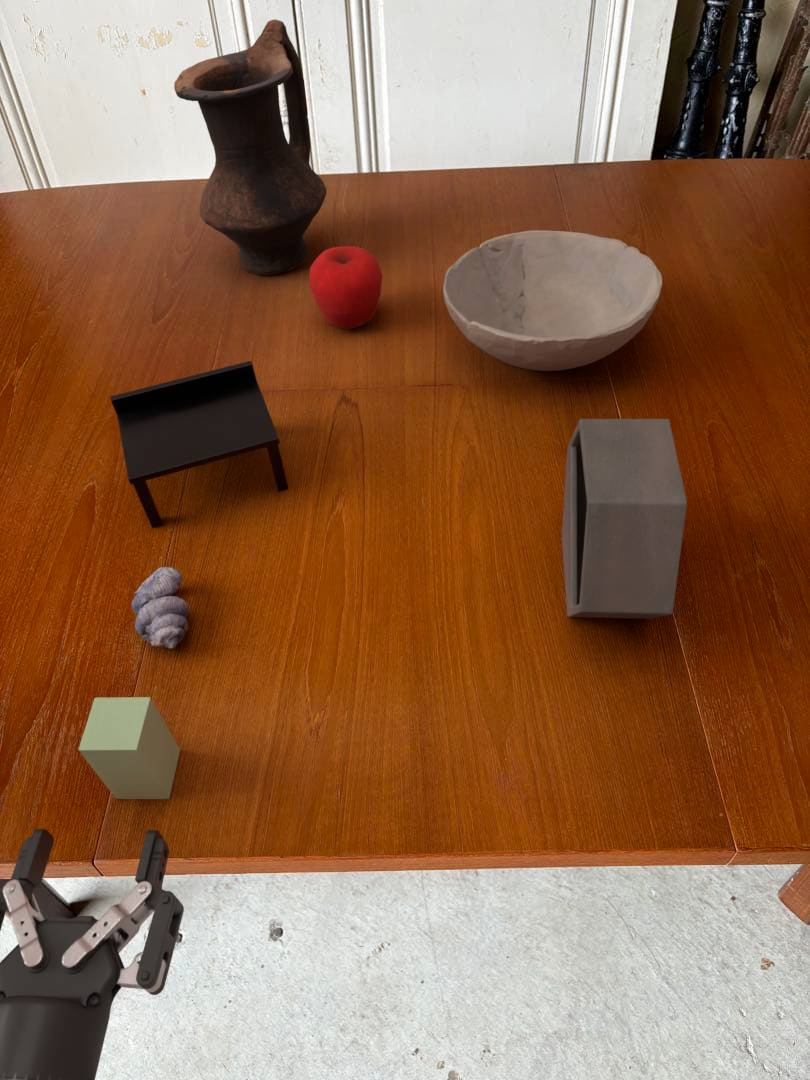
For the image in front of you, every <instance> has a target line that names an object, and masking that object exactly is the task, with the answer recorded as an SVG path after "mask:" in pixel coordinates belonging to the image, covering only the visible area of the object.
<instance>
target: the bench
mask: <svg viewBox="0 0 810 1080" xmlns="http://www.w3.org/2000/svg"><path fill="white" fill-rule="evenodd" d="M109 399H110V402H111V404H112V407H113V409H114V411H115V414H116V419H117V425H118V430H119V434H120V439H121V447H122V452H123V457H124V464H125V469H126V475H127V481H128V482H129V485H131V486H132V485H133V488H134V490H135V493H136V495H137V497H138V499H139V502H140V504H141V506H142V508H143V511H144V513H145V515H146V518H147V520H148V522H149V524H150V527H151V528H152V529H154V528H158V527H160V526H163V524H164V523H163V520H162V519H163V518H162V516H161V514H160V511H159V509H158V507H157V504H156V502H155V499H154V497H153V494H152V492H151V490H150V487H149V485H148V482H147V481H150V480H154V479H157V478H161V477H164V476H168V475H172V474H175V473H179V472H183V471H186V470H189V469H194V468H196V467H200V466H205V465H207V464H211V463H215V462H218V461H222V460H225V459H229V458H233V457H237V456H240V455H245V454H248V453H251V452H255V451H258V450H259V451H260V450H262V449H266V450H267V451H266V452H267V454H268V455H267V456H268V458H269V459H268V460H269V464H270V466H271V471H272V474H273V478H274V482H275V486H276V488H277V491H278V492H284V491H286V490H289V484H288V480H287V476H286V472H285V467H284V464H283V459H282V455H281V451H280V446H279V445H280V444H281V442H280V438H279V435H278V432H277V430H276V427H275V425H274V422H273V420H272V417H271V414H270V411H269V409H268V406H267V404H266V401H265V398H264V395H263V394H262V391H261V388H260V385H259V383H258V380H257V378H256V372H255V369H254V365H253V362H252V360H248V361H244V362H240V363H236V364H232V365H228V366H224V367H220V368H216V369H212V370H208V371H205V372H200V373H197V374H193V375H188V376H185V377H180V378H177V379H173V380H170V381H165V382H162V383H158V384H153V385H150V386H146V387H141V388H138V389H134V390H131V391H125V392H123V393H118V394H113V395H111V396H110V397H109Z"/></svg>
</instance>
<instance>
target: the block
mask: <svg viewBox="0 0 810 1080" xmlns="http://www.w3.org/2000/svg"><path fill="white" fill-rule="evenodd" d="M91 705H92V706H91V708H90V711H89V715H88V718H87V721H86V724H85V727H84V730H83V733H82V736H81V739H80V743H79V747H78V752H79V753H80V754H81V755H82V757H83V758H84V760H85V761H86V762H87V764H88V765H89V766H90V767H91V768H92V770H93V771H94V772H95V774H96V775H97V776H98V777H99V779H100V780H101V781H102V782H103V784H104V785H105V786H106V788H107V789H108V790H109V792H110V793H111V794H112V796H113V797H114V798H115V799H116V800H169V799H170V798H171V792H172V790H173V789H172V788H173V786H174V785H173V784H174V780H175V775H176V771H177V767H178V762H179V758H180V753H181V748H180V746H179V744H178V742H177V741H176V739H175V738H174V735H173V734H172V732H171V731H170V729H169V726H168V725H167V724H166V722H165V720H164V718H163V716H162V715H161V713H160V711H159V710H158V708H157V706H156V704H155V703H154V701H153V699H152V697H149V696H141V697H139V696H137V697H136V696H134V697H128V696H127V697H124V696H123V697H120V696H119V697H94V699H93V702H92V704H91Z"/></svg>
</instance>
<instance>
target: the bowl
mask: <svg viewBox="0 0 810 1080" xmlns="http://www.w3.org/2000/svg"><path fill="white" fill-rule="evenodd" d="M662 276H663V275H662V273H661V272H660V270H659V269H658V267H657V266H656V264H655V263H654V261H653V260H652V258H650V257H649V256H648V255H645V254H643V253H641V252H640V251H639V249H638V248H636V247H634V246H628V243H625V242H623V241H622V240H620V239H616V238H611V237H602V236H598V235H595V234H590V233H583V232H575V231H561V230H545V229H544V230H525V231H519V232H513V233H508V234H503V235H500V236H496V237H493V238H490V239H487V240H485V241H483V242H482V243H481V244H480V245H479V246H478V247H474V248H471V249H469V250H468V251H467V252H465V253H464V254H462V255H461V256H460V257H459V258H458V259H457V260H456V262H454V263H453V264H452V265H451V266H449V268H448V269H447V271H446V272H445V275H444V281H443V285H442V292H443V293H442V294H443V301H444V304H445V307H446V310H447V312H448V314H449V316H450V318H451V319H452V321H453V322H454V324H455V325H456V326H457V328H458V329H459V330H460V332H461V333H462V334H463V336H465V338H466V339H467V340H468V341H469V342H471V343H472V344H473V345H475V346H476V347H477V348H479V350H481V351H483V352H484V353H486V354H487V355H489V356H491V357H493V358H495V359H497V360H499V361H501V362H503V363H505V364H508V365H511V366H512V367H513V366H514V367H516V368H520V369H524V370H533V371H540V372H554V371H556V372H557V371H566V370H570V369H576V368H579V367H584V366H586V365H590V364H593V363H595V362H597V361H599V360H602V359H603V358H605V357H607V356H609V355H610V354H613V353H614V352H616V351H617V350H619V349H620V348H622V347H623V346H624V345H626V344H627V343H628V342H629V341H631V340H632V339H634V337H636V335H637V334H638V333H639V332H640V331H641V330H642V329H643V328H644V326H645V325H646V323H647V322H648V320H649V319H650V317H651V316H652V314H653V312H654V310H655V308H656V306H657V304H658V302H659V300H660V298H661V295H662V287H663V277H662Z"/></svg>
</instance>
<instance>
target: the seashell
mask: <svg viewBox="0 0 810 1080" xmlns="http://www.w3.org/2000/svg"><path fill="white" fill-rule="evenodd" d="M182 582H183V575H182V573H181V572H180V571H179V570H177V569H176V568H175V567H173V566H172V567H171V566H161V567H158V568H157V569H155V571H153V573H152V574H151V575H150V576H149V577H147V578H146V579H145V580H144V581H143V582H141V584H140V586H139V588H137V590H136V591H135V592H133V594H134V597H133V599H132V601H131V609H132V611H133V613H134V614H136V618H135V622H134V629H135V631H136V632H137V634H138V636H140V637H141V638H142V639H144V640H145V641H146V642H148V643H149V644H151V647H159V648H164V649H169V650H171V649H176V647H177V644H179V643H180V642H181V641H183V639H184V637H185V634H186V632H187V631H188V630H189V623H188V620H187V618H188V616H189V609H190V607H189V604H188V603H187V602H186V601H185V600H184V599H183V598H182V597H181V598H180V597H178V596H177V595H175V596H174V595H173V594H175V593H176V592H177V591H178V590H179V587H180V586H181V583H182Z"/></svg>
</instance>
